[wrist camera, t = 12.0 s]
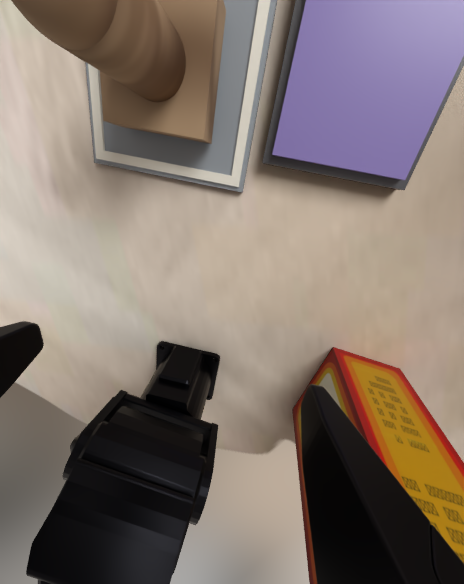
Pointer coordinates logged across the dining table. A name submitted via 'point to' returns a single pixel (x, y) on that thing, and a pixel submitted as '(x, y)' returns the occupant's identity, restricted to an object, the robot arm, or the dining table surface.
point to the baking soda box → (393, 441)
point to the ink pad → (364, 86)
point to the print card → (228, 113)
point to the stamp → (144, 57)
